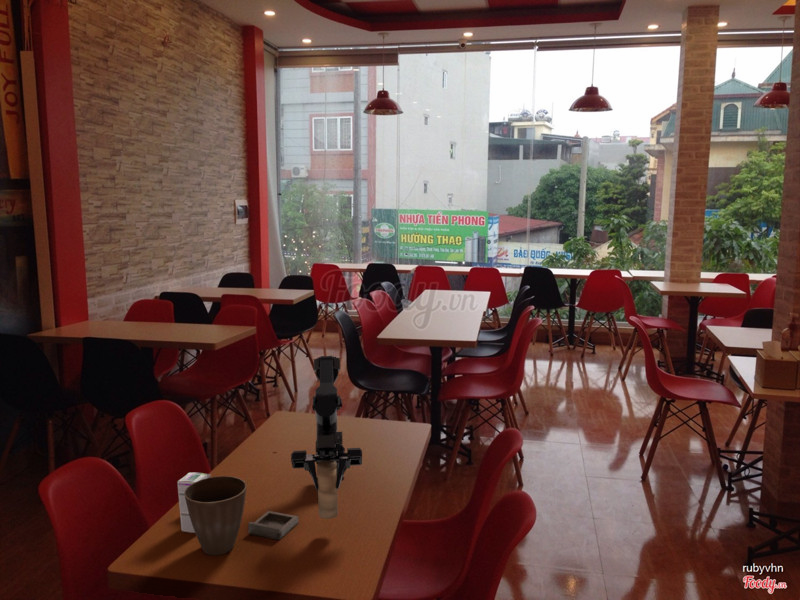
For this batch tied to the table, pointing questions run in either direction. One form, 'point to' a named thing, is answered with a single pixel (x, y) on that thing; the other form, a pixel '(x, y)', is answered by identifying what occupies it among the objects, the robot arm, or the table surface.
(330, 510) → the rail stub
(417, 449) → the table surface
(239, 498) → the plant pot
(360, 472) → the table surface
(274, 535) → the grey tray
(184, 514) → the syrup box
